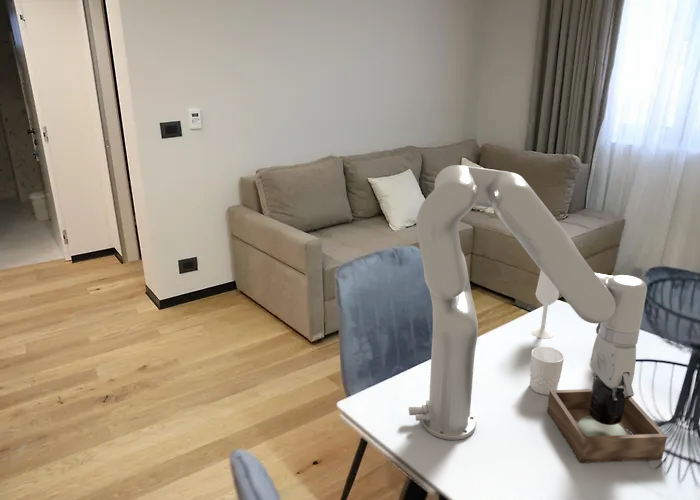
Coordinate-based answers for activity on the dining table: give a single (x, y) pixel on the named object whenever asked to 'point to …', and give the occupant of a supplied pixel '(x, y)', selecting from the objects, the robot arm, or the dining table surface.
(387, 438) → the dining table surface
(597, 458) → the walnut box
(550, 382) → the white cup
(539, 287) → the champagne flute
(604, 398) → the supplement bottle
